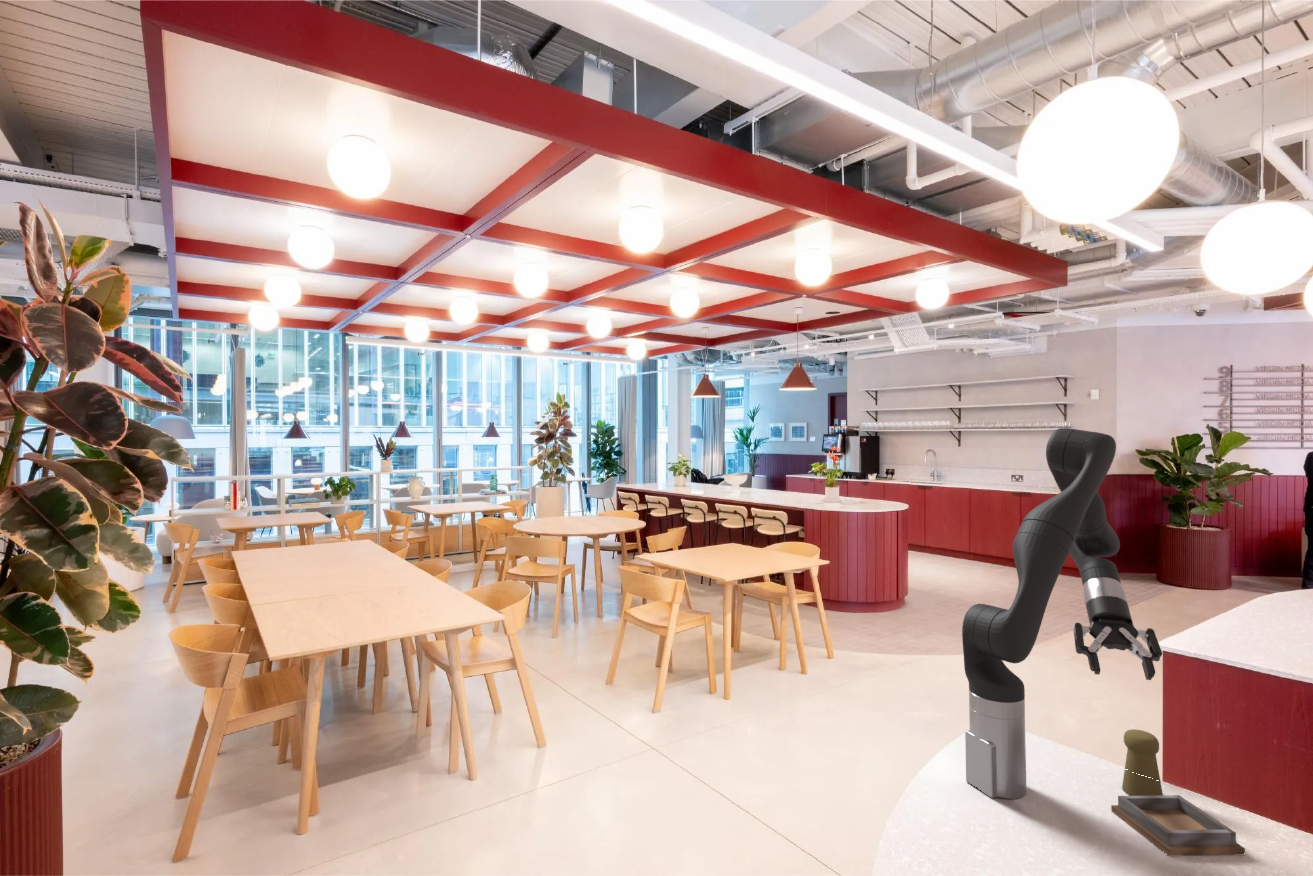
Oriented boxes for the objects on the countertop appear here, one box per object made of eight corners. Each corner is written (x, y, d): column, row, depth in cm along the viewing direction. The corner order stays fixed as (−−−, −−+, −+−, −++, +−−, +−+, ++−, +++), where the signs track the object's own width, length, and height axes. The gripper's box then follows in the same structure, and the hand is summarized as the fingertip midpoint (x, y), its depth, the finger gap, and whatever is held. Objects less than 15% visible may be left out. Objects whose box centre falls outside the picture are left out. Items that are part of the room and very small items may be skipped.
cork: (1171, 804, 111) (1169, 741, 112) (1132, 800, 113) (1131, 738, 113) (1151, 786, 117) (1150, 726, 118) (1115, 783, 119) (1114, 724, 119)
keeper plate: (1167, 855, 97) (1167, 836, 97) (1111, 811, 109) (1111, 793, 109) (1245, 854, 97) (1244, 835, 97) (1180, 810, 109) (1179, 793, 109)
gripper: (1069, 592, 136) (1083, 662, 125) (1150, 597, 131) (1172, 671, 120) (1065, 610, 141) (1078, 679, 130) (1142, 616, 136) (1163, 688, 125)
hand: (1123, 675), depth 125 cm, fingers open, 8 cm apart
